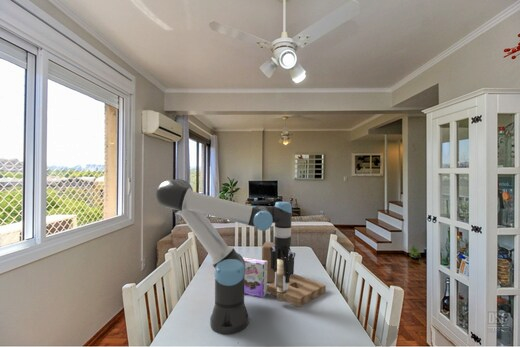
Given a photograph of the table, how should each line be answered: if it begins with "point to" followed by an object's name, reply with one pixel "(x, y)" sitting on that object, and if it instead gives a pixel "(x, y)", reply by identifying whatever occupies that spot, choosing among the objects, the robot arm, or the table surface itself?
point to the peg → (280, 280)
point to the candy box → (255, 277)
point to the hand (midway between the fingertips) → (281, 287)
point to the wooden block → (267, 257)
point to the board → (299, 290)
